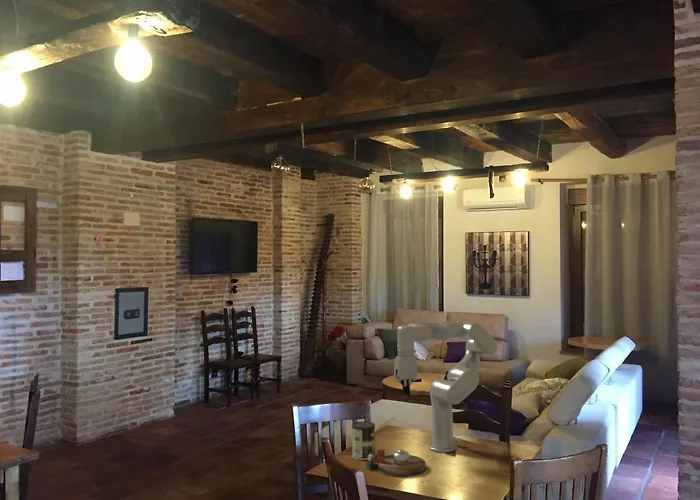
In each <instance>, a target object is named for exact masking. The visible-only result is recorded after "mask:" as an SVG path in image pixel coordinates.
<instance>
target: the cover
mask: <svg viewBox="0 0 700 500" xmlns="http://www.w3.org/2000/svg"><path fill="white" fill-rule="evenodd" d="M409 453H410V452H408V451H406V450H404V449H398V450H396V451H393V454H392V455H393V463H394V464H395V465H401V466H402V465H407V464H409V455H410V454H409Z"/></svg>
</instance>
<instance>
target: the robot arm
mask: <svg viewBox="0 0 700 500" xmlns="http://www.w3.org/2000/svg"><path fill="white" fill-rule="evenodd" d="M396 332H397V333H396V334H397V337H396V338H397V339H396V340H397V343H396V344H397V356H395V359H394V368H393V378H395V382H396V383H400V385H401V386H402V391H401V392H402V395H405V396H410V395H411V386H412V383H413V382H415V381H417V377H418V364H417V358H416V355H415V354H416V353H417V349H415V342H427V341H429V340H431V339H432V340H438V341H453V340H466V342H465V354H464V356H463V358H462V359H461V360H460V361H459V362H458V363H457V364H455V365H454V366H453V367H452V368H451V369H450V370H449V371H447V376H446V379H442V378H436V379H434V380H433V381H432V382H431V383H430V386H429V397H430V403H431V443H429V444H428V449H429V450H431V451H433V452H437V453H452V452H454V451H456V450H457V445H456V444H457V443H461V442H462V438H461V437H454V433H453V432H454V426H453V425H454V419H453V413H454V412H453V405H458V404H460V403H461V402H463V401H464V400H465V399H466V398H467V397H469V395H470V394H471V393H473V392H474V391H475V390H476V389H477V388H478V387H477V386H479V382H480V376H479V373H478V370H479V368H480V366H481V365H480V364H481V362H480V361H481V357H480V356H483V357H484V356H485V357H491V356H494V355H495V354H496V353H497V350H498V345H497V342H496V340H495V339H494V337H492V335H491V334H490V333H489V332H488V331H487V330H486V329H485V327H484V326H482V325H481V324H480V323H478V322H475V321H469V320H468V321H467V320H456V321H455V320H454V321H432V322H431V321H430V322H428V321H427V322H411V323H408V324H406V325H399V326H398V327H397V331H396Z"/></svg>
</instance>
